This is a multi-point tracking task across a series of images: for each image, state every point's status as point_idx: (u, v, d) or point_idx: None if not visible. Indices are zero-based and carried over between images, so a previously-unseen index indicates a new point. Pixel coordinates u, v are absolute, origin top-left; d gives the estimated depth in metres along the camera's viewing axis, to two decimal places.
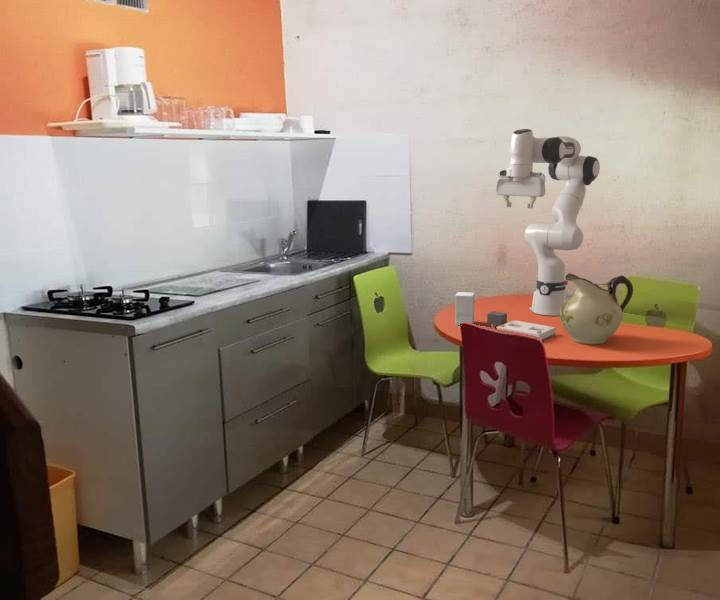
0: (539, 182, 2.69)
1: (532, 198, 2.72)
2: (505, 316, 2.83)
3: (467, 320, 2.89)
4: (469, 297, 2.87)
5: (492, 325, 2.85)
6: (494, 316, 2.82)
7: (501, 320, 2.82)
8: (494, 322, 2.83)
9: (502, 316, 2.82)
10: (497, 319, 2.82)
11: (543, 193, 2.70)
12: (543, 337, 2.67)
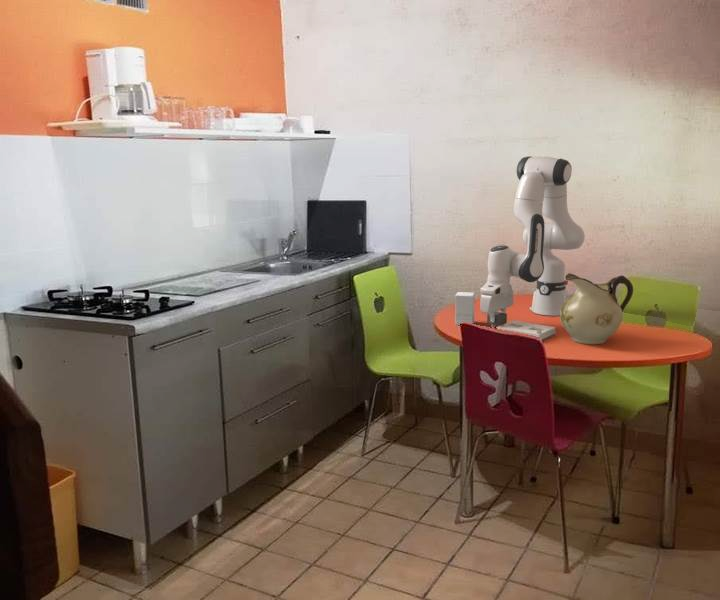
0: (512, 292, 2.88)
1: (505, 309, 2.87)
2: (505, 316, 2.83)
3: (467, 320, 2.89)
4: (469, 297, 2.87)
5: (492, 325, 2.85)
6: None
7: (501, 320, 2.82)
8: (494, 322, 2.83)
9: (502, 316, 2.82)
10: (497, 319, 2.82)
11: None
12: (543, 337, 2.67)
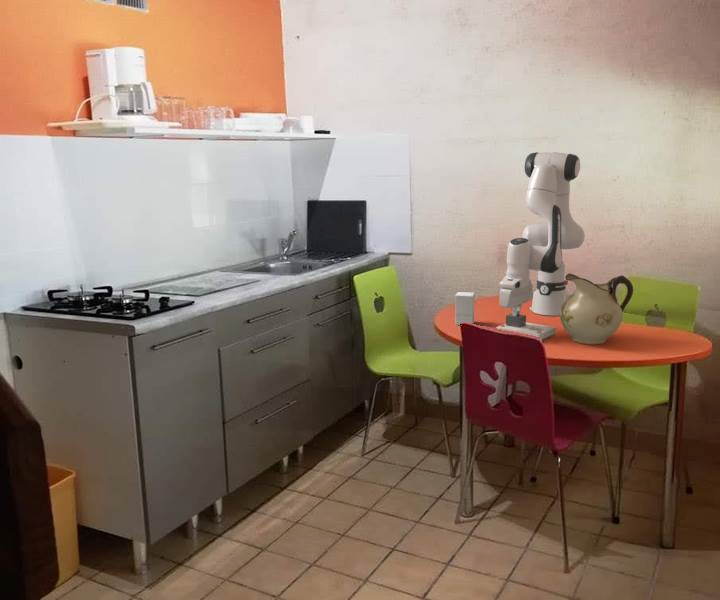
0: (532, 286, 2.80)
1: (521, 305, 2.76)
2: (524, 318, 2.76)
3: (467, 320, 2.89)
4: (469, 297, 2.87)
5: None
6: (513, 318, 2.75)
7: (521, 322, 2.74)
8: (513, 324, 2.75)
9: (521, 318, 2.74)
10: (516, 321, 2.74)
11: None
12: (543, 337, 2.67)
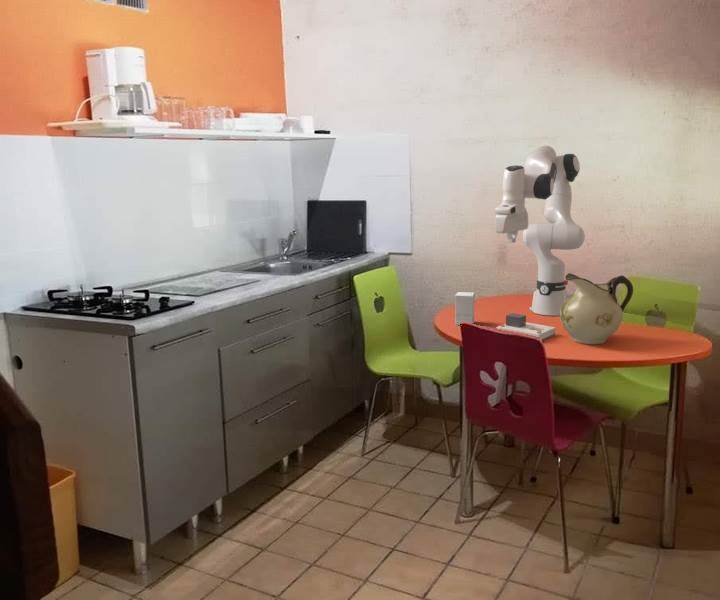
0: (527, 215, 2.85)
1: (517, 232, 2.81)
2: (524, 318, 2.76)
3: (467, 320, 2.89)
4: (469, 297, 2.87)
5: None
6: (513, 318, 2.75)
7: (521, 322, 2.74)
8: (513, 324, 2.75)
9: (521, 318, 2.74)
10: (516, 321, 2.74)
11: None
12: (543, 337, 2.67)
